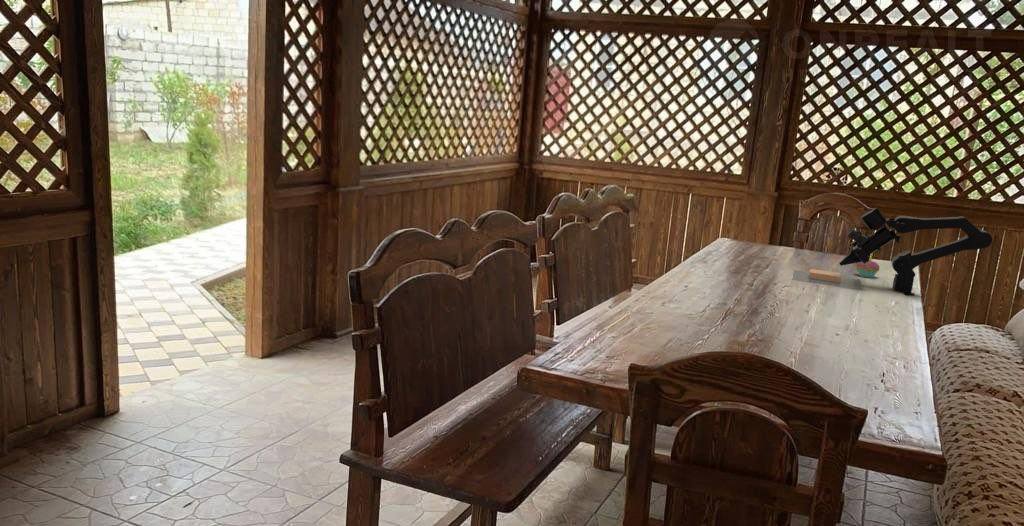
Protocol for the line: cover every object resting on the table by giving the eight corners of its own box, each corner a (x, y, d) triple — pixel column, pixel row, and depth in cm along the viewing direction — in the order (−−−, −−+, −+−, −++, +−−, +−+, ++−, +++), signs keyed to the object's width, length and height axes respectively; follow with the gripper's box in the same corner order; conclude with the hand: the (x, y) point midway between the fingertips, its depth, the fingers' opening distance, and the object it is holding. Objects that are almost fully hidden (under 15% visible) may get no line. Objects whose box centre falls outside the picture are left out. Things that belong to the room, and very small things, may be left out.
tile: (840, 273, 281) (810, 268, 285) (841, 276, 275) (809, 272, 279) (839, 279, 282) (809, 275, 286) (840, 283, 276) (808, 278, 279)
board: (859, 281, 285) (859, 279, 285) (862, 292, 267) (862, 290, 267) (793, 271, 294) (793, 269, 294) (791, 281, 276) (792, 279, 276)
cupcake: (881, 281, 288) (887, 251, 286) (859, 279, 288) (865, 249, 286) (871, 276, 297) (876, 247, 294) (850, 274, 297) (855, 245, 294)
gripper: (862, 219, 281) (826, 243, 287) (865, 225, 264) (826, 251, 270) (881, 242, 280) (844, 266, 286) (885, 250, 263) (846, 275, 269)
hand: (840, 264), depth 278 cm, fingers closed
